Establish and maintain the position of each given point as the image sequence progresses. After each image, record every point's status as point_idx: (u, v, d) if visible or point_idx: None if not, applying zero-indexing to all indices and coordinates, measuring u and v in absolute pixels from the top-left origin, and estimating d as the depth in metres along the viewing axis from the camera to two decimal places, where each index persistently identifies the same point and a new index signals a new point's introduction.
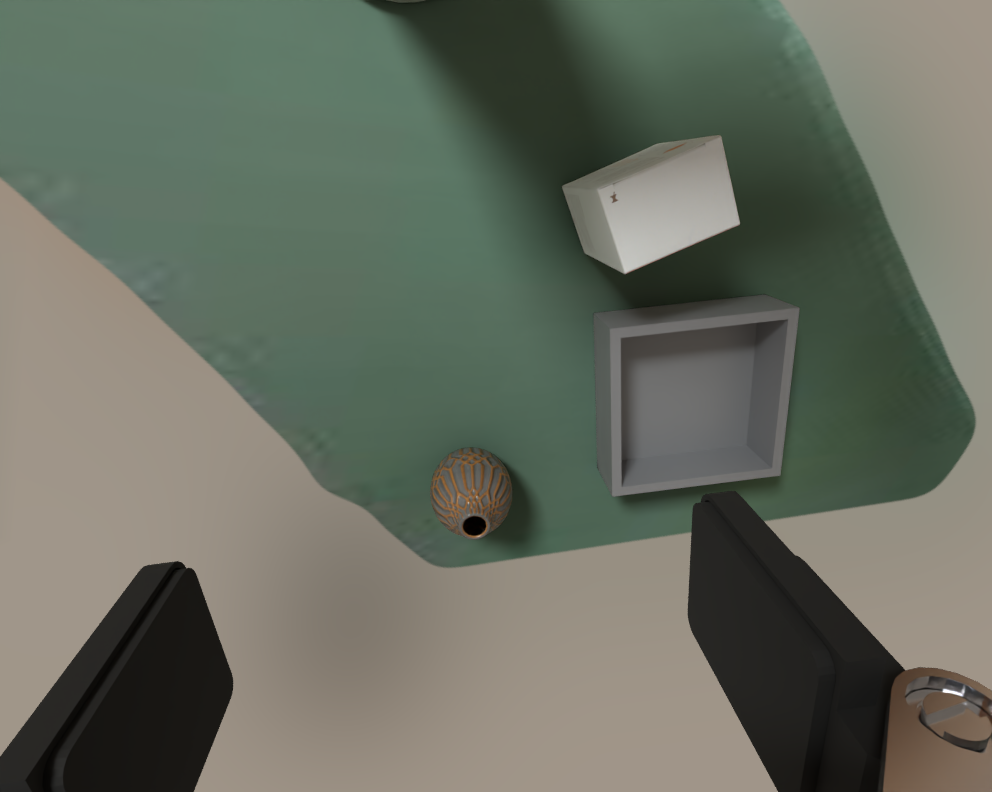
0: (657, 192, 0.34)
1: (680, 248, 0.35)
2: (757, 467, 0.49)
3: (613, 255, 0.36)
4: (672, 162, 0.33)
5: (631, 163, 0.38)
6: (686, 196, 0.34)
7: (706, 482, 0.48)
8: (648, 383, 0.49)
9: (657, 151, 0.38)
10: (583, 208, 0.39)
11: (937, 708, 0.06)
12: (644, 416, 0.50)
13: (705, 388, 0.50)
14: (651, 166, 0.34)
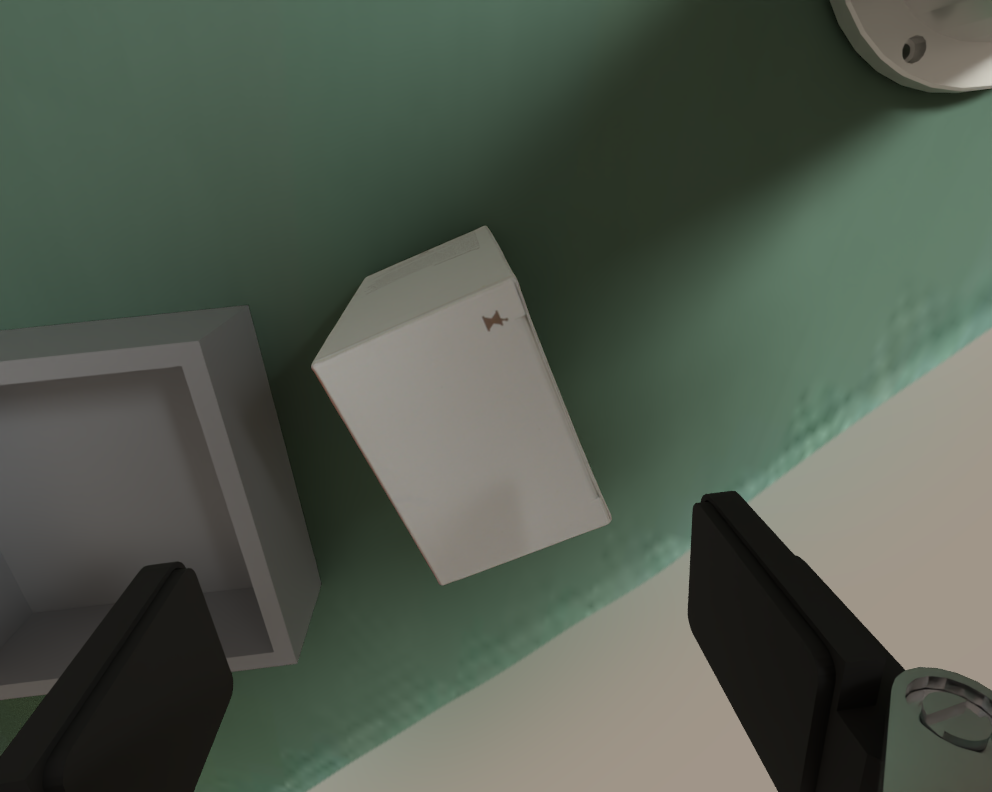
0: (506, 419, 0.15)
1: (384, 482, 0.15)
2: None
3: (356, 332, 0.15)
4: (565, 440, 0.15)
5: None
6: (497, 478, 0.15)
7: None
8: (117, 426, 0.25)
9: None
10: (455, 260, 0.18)
11: (937, 708, 0.06)
12: (41, 427, 0.24)
13: (131, 528, 0.27)
14: (559, 397, 0.15)
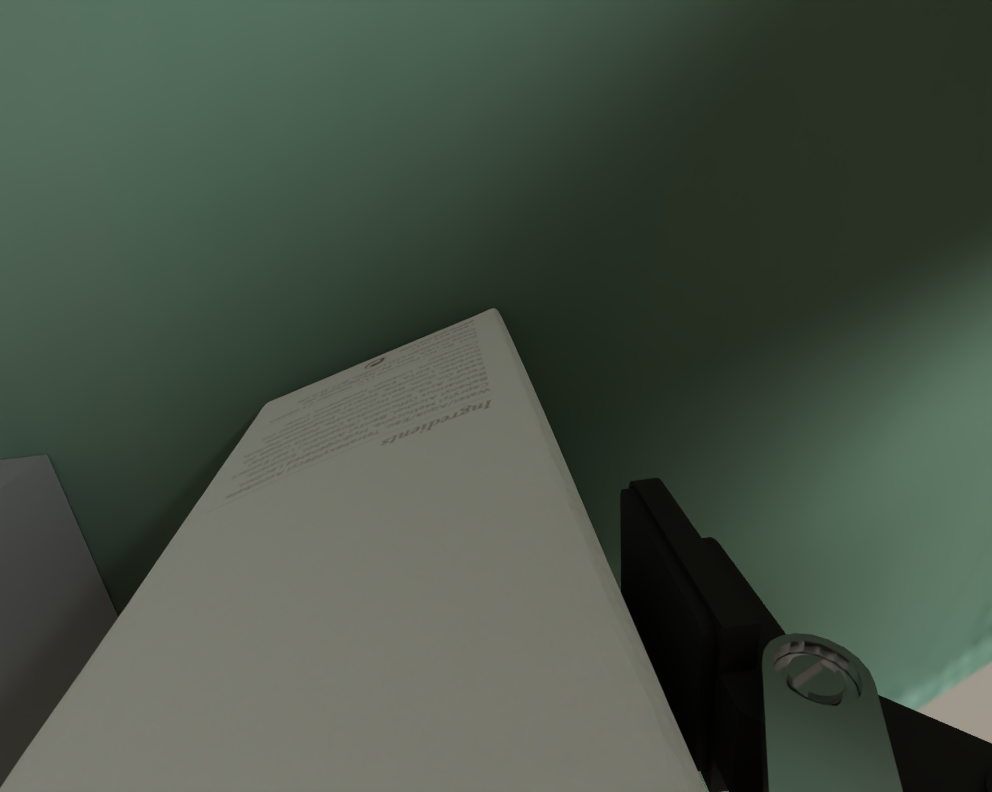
0: None
1: None
2: None
3: None
4: None
5: None
6: None
7: None
8: None
9: None
10: (431, 444, 0.07)
11: (800, 671, 0.07)
12: None
13: None
14: None
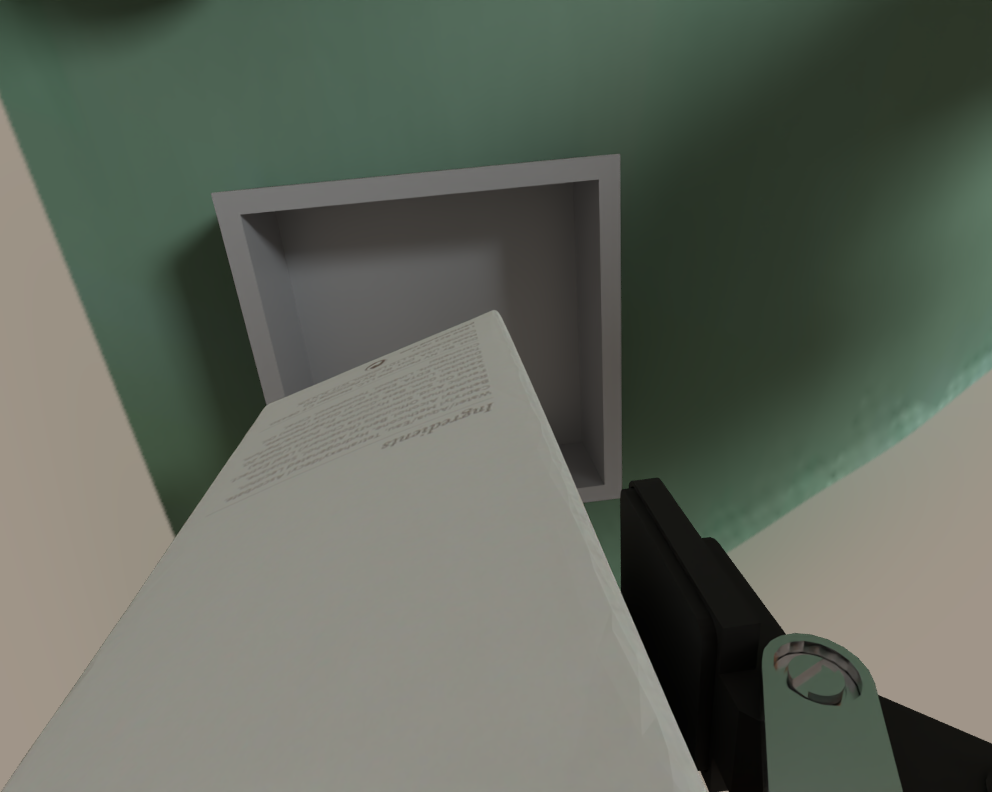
0: None
1: None
2: None
3: None
4: None
5: None
6: None
7: None
8: (453, 276, 0.26)
9: None
10: (432, 447, 0.07)
11: (800, 671, 0.07)
12: (383, 275, 0.26)
13: None
14: None
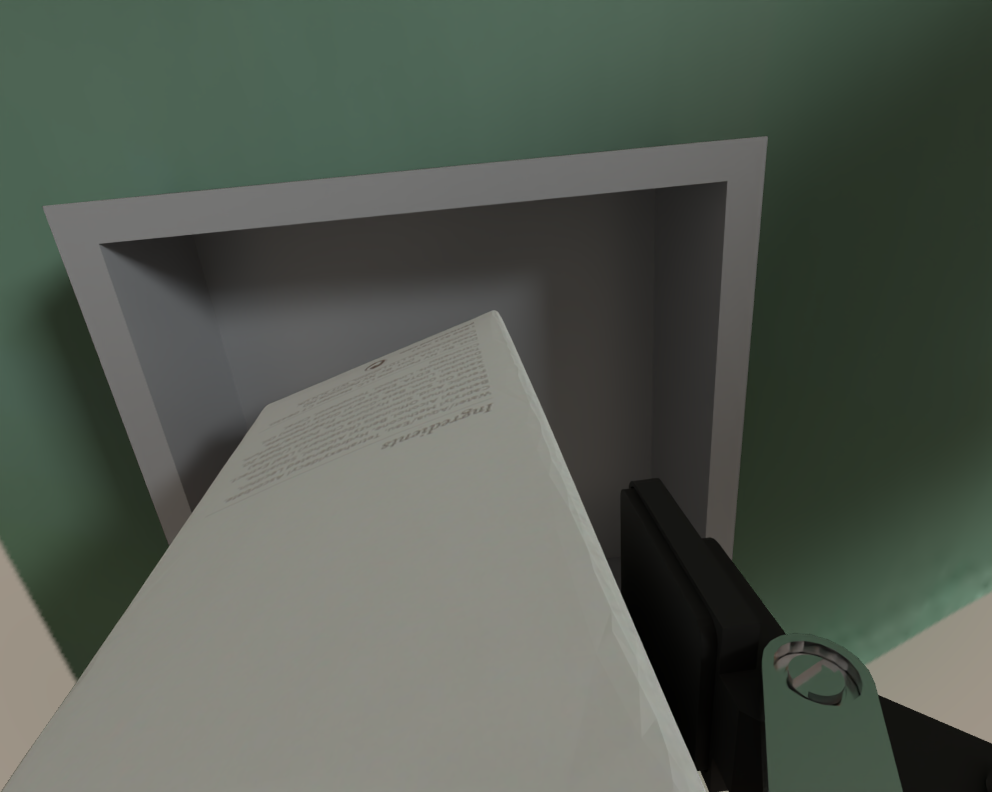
0: None
1: None
2: None
3: None
4: None
5: None
6: None
7: None
8: None
9: None
10: (432, 448, 0.07)
11: (800, 671, 0.07)
12: (363, 326, 0.17)
13: None
14: None
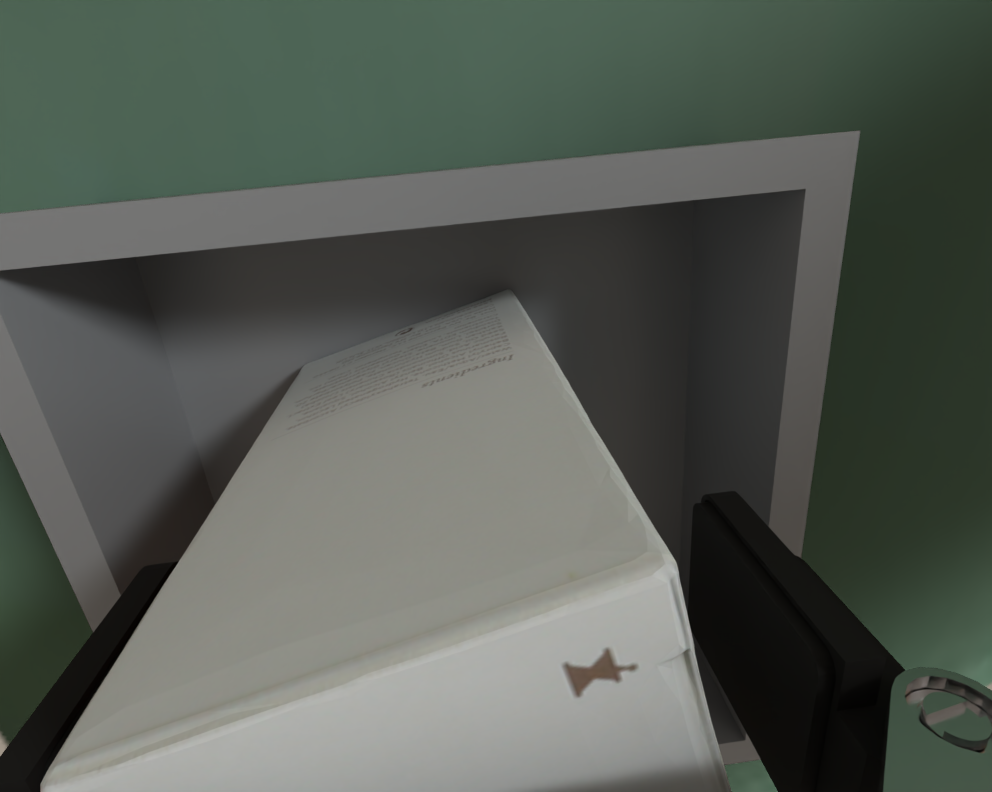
0: None
1: None
2: None
3: (203, 644, 0.05)
4: None
5: None
6: None
7: None
8: None
9: None
10: (465, 385, 0.09)
11: (937, 709, 0.06)
12: None
13: None
14: None
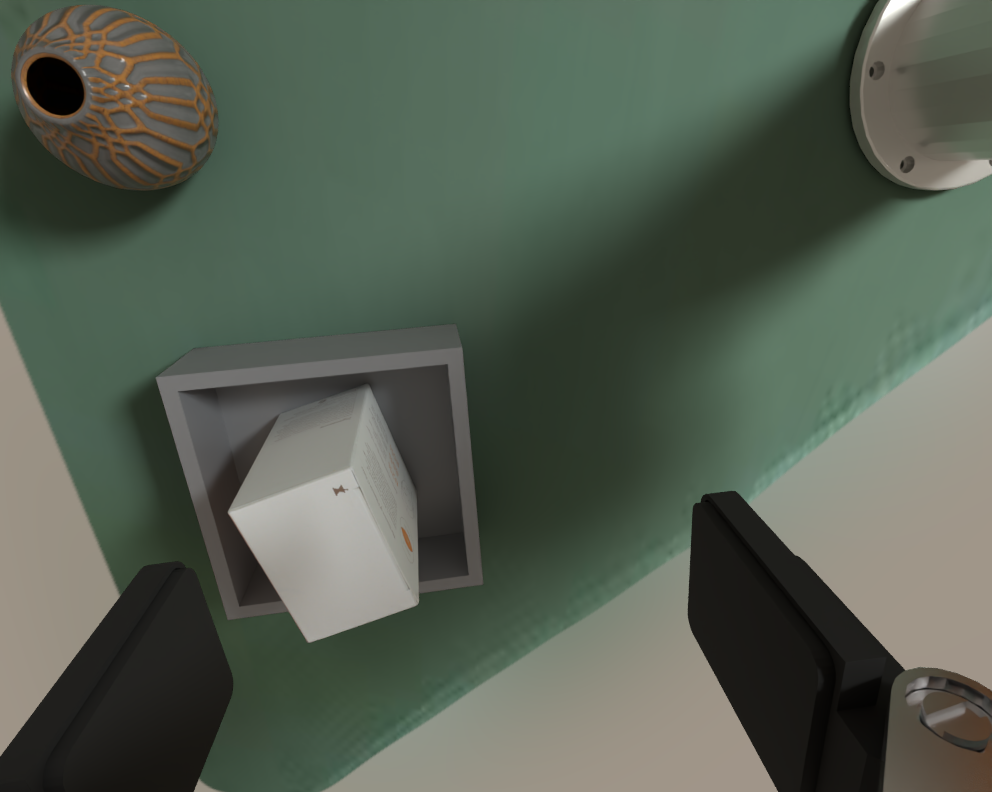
0: (348, 543, 0.25)
1: (271, 579, 0.25)
2: (236, 586, 0.32)
3: (258, 489, 0.24)
4: (386, 556, 0.25)
5: (391, 483, 0.29)
6: (343, 578, 0.25)
7: (203, 522, 0.30)
8: None
9: (405, 510, 0.30)
10: (333, 428, 0.28)
11: (937, 708, 0.06)
12: None
13: None
14: (382, 531, 0.25)
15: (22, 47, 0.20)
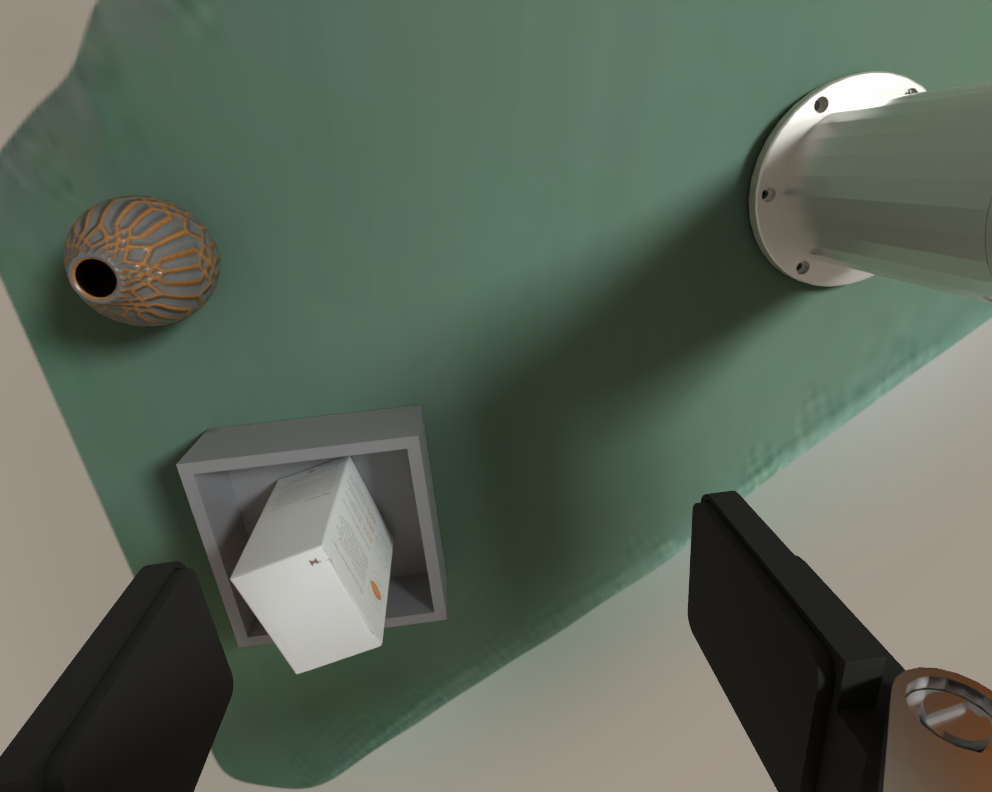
0: (323, 601, 0.32)
1: (265, 627, 0.32)
2: (245, 621, 0.40)
3: (253, 559, 0.31)
4: (353, 609, 0.32)
5: (364, 543, 0.36)
6: (321, 626, 0.32)
7: (216, 572, 0.37)
8: None
9: (377, 563, 0.37)
10: (315, 502, 0.35)
11: (937, 708, 0.06)
12: None
13: None
14: (349, 591, 0.32)
15: (71, 244, 0.28)
